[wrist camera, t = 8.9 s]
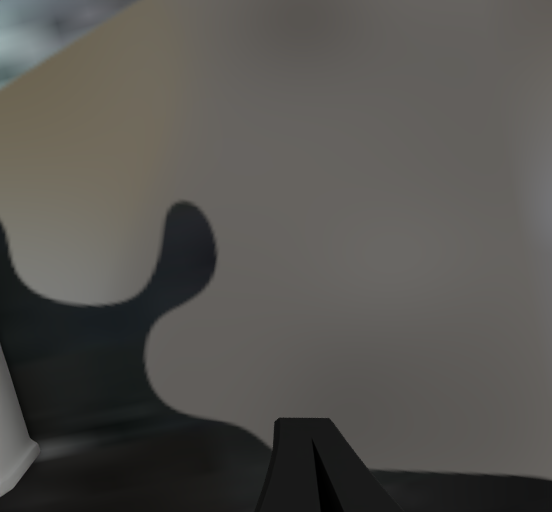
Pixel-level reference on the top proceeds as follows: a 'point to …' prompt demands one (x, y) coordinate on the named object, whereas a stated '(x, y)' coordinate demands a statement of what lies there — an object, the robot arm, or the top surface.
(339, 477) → the robot arm
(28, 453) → the tube
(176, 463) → the top surface
